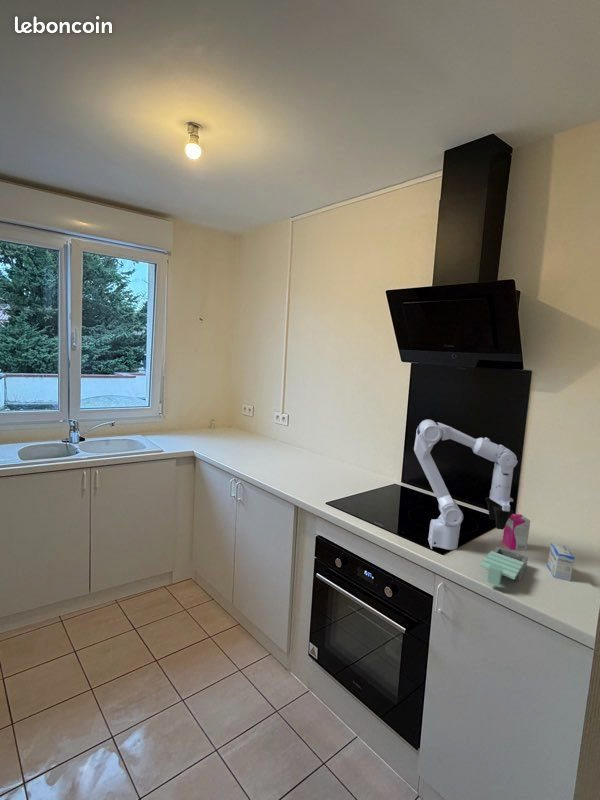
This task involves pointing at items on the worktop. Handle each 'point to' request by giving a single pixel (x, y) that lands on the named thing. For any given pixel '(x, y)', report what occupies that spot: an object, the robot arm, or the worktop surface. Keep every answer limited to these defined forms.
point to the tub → (511, 554)
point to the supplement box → (516, 532)
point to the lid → (500, 567)
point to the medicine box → (560, 562)
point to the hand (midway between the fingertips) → (496, 524)
